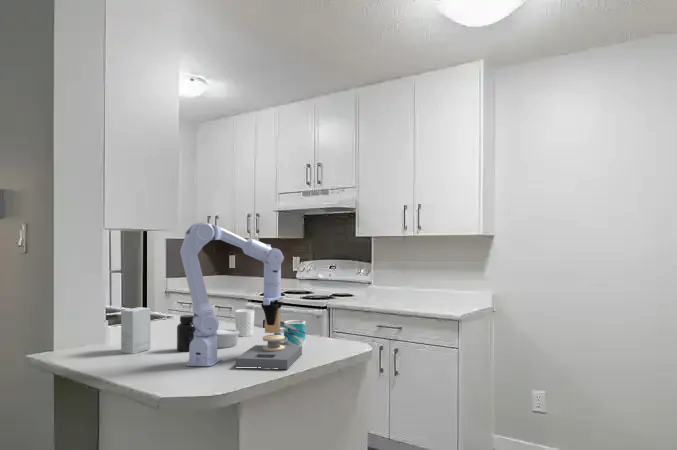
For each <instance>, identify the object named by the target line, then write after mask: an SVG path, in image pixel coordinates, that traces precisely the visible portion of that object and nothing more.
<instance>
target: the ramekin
mask: <svg viewBox="0 0 677 450" xmlns="http://www.w3.org/2000/svg"><path fill="white" fill-rule="evenodd" d="M238 335H239V331H238V330H236V329H232V328H231V329H230V328H222V329H220V328H218V329H217V349H228V348H233V347H235V346H237V343H238V339H239V336H238Z"/></svg>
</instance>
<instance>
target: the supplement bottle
mask: <svg viewBox="0 0 677 450" xmlns="http://www.w3.org/2000/svg"><path fill="white" fill-rule="evenodd" d="M193 317H194V314H184V315H180V316H179V322H180V323H179V324H177V326H176V350H177V352H180V353H181V352H182V353H189V346H190V343H191V341H192V340H193V339H194V331H195V330H196V328H195V327H194V326H193Z"/></svg>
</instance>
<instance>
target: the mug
mask: <svg viewBox="0 0 677 450" xmlns="http://www.w3.org/2000/svg"><path fill="white" fill-rule="evenodd" d="M282 333H283V336H285V339H284V340H282V341H280V344H281V343H283V346H285V345H286V346H302V345H303V346H305V345H306V342H307V341H306V338H307V337H306V320H299V319H292V320H291V319H290V320H284V321H283V326H280V332H279V333H273V335H281V334H282ZM303 346H302V347H303Z"/></svg>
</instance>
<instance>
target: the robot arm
mask: <svg viewBox="0 0 677 450" xmlns="http://www.w3.org/2000/svg"><path fill="white" fill-rule="evenodd" d="M184 235H185V236H184V239H183V241H182V243H181V247H180V251H179V254H180V258H181V262H182V265H183V269H184V273H185V278H186V282H187V286H188V289H189V293H190V294H189V295H190V297H191V302H192V306H193V307H192V313H193V314H192V315H193V316H194V317H193V326H194V327H195V328H196V330H195V331H194V339H193V340H192V341H191V343H190V346H189V352H188V353H189V356H188V357H189V358H188V360H189V361H188V363H186V364H185V365H186V366H187V367H190V366H191V367H213V365H214V366H215V364H217V363H219V362H220V361H222V359H223V358H222V357H218V348H217V330H219V328H220V321H219V319H218V317H217V316H216V315H215V314H214V311H213V307H212V306H211V303H210V299H209V297H208V292H207V288H206V284H205V280H204V275H203V272H202V268H201V264H200V263H201V262H200V259H199V253H200V252H201V250H202V249H203V247H204V246H206V245H207V244H208V243H209V242H210V241H211V242H212V241H216V240H217V241H219V240H221V241H223V242H225V243H228V244H229V245H232V246H235V247H238V248H240V249H241V250H242V251H243V254H244V255H246V256H249V257H252V258H253V259H256V260H258V261H260V262H262V263H263V297H262V299H263V300H262V303H261V304H260V305H261V308H262V310H263V313H264V317H265V316H266V321H267V325H274V323H275V316H276V311H277V308H280V309H281V308H282V307H283V304H284V301H281V300H284V299H285V296H283V295H282V287H281V286H282V267H281V266H282V263H283V261H284V259H285V256H284V255H283V252H282V251H281V249H279V248H276V247H271V246H272V245H271V244H270V243H264V242H261V241H260V239H259V238H258V237H254V238H253V237H250V238H247V239H246V238H244V237H241V236H240V235H238V234H236V233H233V232H231V231H230V230H227V229H226V228H224V227H221V226H218V225H215V224H210V223H209V222H206V221H204V222H198V223H193V224H192V225H191V226H190V227H189V228H188V229H187V230H186V231H185V234H184Z"/></svg>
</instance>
